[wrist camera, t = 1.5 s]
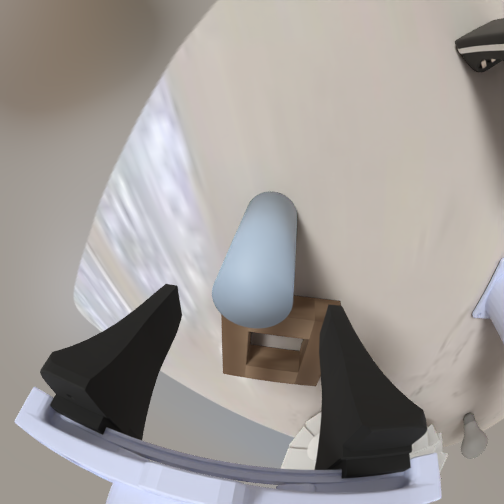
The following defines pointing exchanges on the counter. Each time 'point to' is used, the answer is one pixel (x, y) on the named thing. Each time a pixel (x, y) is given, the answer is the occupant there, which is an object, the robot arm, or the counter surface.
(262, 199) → the peg
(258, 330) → the socket block
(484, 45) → the battery charger
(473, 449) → the lightbulb
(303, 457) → the spiral staircase
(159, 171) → the counter surface
